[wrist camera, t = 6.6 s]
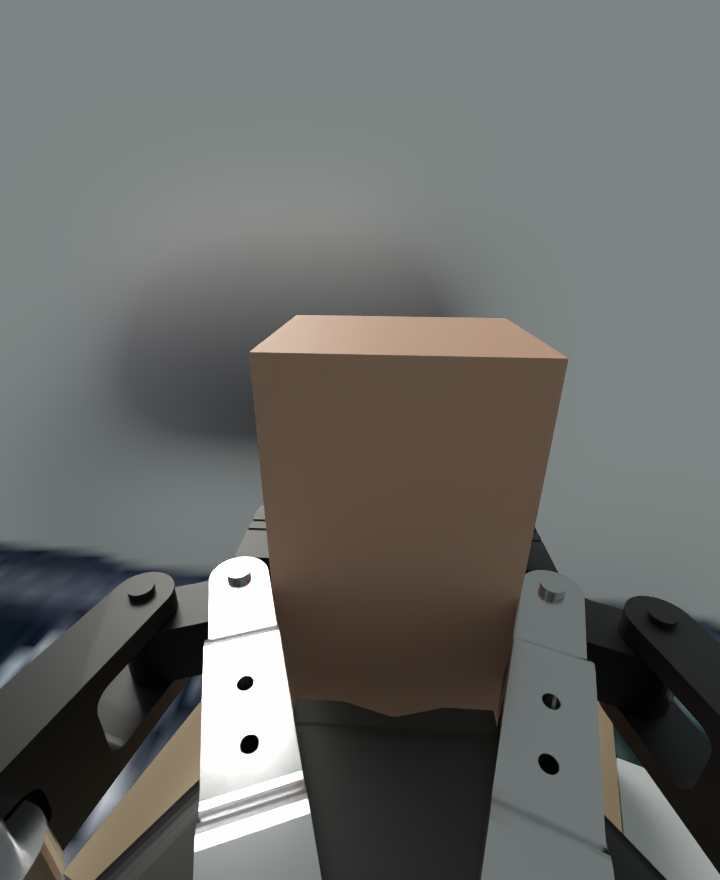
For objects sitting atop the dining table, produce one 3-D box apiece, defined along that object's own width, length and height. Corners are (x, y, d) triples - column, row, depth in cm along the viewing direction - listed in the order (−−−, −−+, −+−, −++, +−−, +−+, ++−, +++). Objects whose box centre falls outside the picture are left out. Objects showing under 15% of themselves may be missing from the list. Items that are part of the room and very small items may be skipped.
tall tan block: (295, 833, 13) (248, 352, 7) (316, 702, 16) (296, 315, 11) (470, 847, 13) (568, 358, 7) (452, 711, 16) (506, 318, 10)
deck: (97, 940, 14) (62, 872, 12) (298, 643, 24) (294, 585, 22) (607, 1357, 9) (667, 1341, 7) (587, 754, 19) (609, 690, 17)
